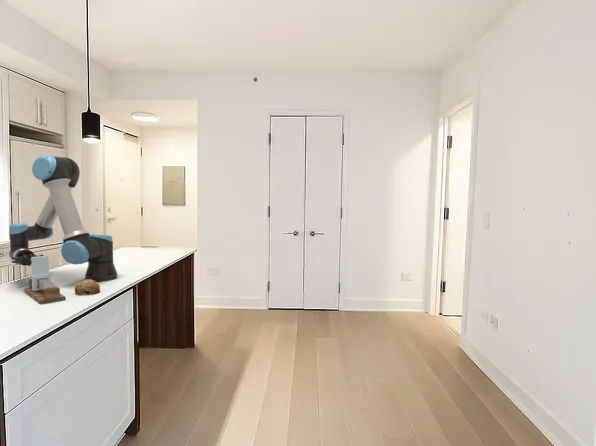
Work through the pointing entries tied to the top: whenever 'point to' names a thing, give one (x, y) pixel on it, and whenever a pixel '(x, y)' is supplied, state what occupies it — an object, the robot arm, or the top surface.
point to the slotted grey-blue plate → (39, 270)
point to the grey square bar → (45, 283)
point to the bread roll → (87, 287)
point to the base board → (44, 294)
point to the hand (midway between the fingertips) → (36, 263)
